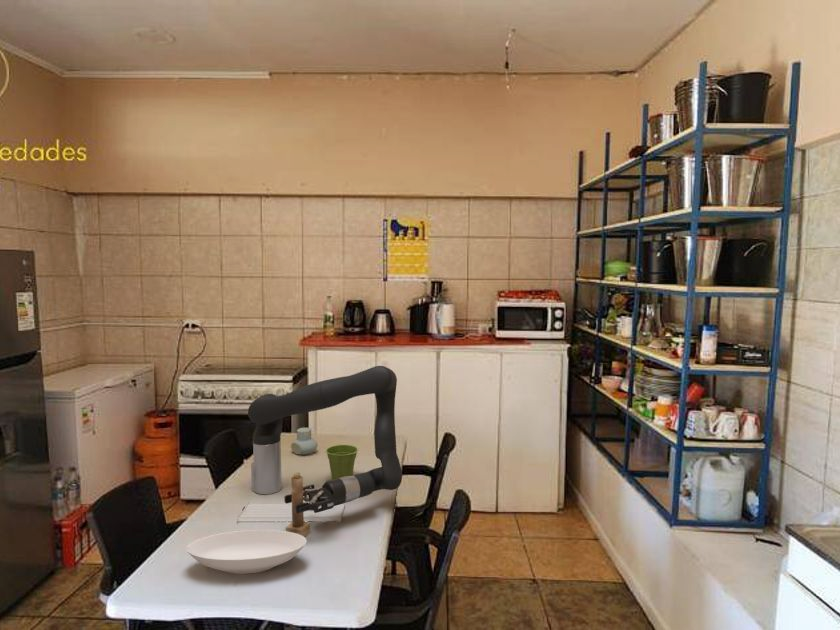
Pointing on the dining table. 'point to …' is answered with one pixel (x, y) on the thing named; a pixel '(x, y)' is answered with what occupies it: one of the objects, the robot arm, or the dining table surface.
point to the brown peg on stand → (297, 498)
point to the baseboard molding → (287, 513)
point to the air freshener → (304, 442)
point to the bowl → (246, 550)
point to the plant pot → (341, 460)
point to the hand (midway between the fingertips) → (290, 504)
